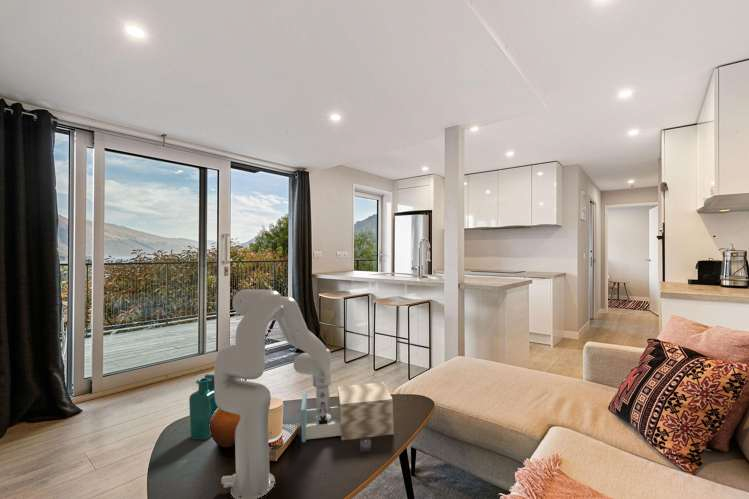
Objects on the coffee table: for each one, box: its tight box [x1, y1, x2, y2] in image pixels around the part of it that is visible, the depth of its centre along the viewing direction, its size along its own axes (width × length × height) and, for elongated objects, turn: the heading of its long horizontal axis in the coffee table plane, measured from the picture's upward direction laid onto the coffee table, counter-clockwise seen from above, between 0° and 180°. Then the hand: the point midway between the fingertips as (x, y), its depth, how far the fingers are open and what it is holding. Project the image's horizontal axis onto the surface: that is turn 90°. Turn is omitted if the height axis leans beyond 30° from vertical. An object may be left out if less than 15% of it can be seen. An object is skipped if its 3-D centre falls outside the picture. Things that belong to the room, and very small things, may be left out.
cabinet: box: [337, 381, 395, 441], centre depth 141 cm, size 20×18×14 cm
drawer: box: [300, 390, 341, 443], centre depth 138 cm, size 20×18×12 cm
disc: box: [315, 414, 331, 425], centre depth 138 cm, size 6×6×2 cm
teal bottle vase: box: [188, 373, 219, 440], centre depth 139 cm, size 10×8×22 cm
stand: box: [359, 437, 372, 454], centre depth 123 cm, size 4×4×4 cm
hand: (323, 425), depth 138 cm, fingers closed on disc, 6 cm apart
